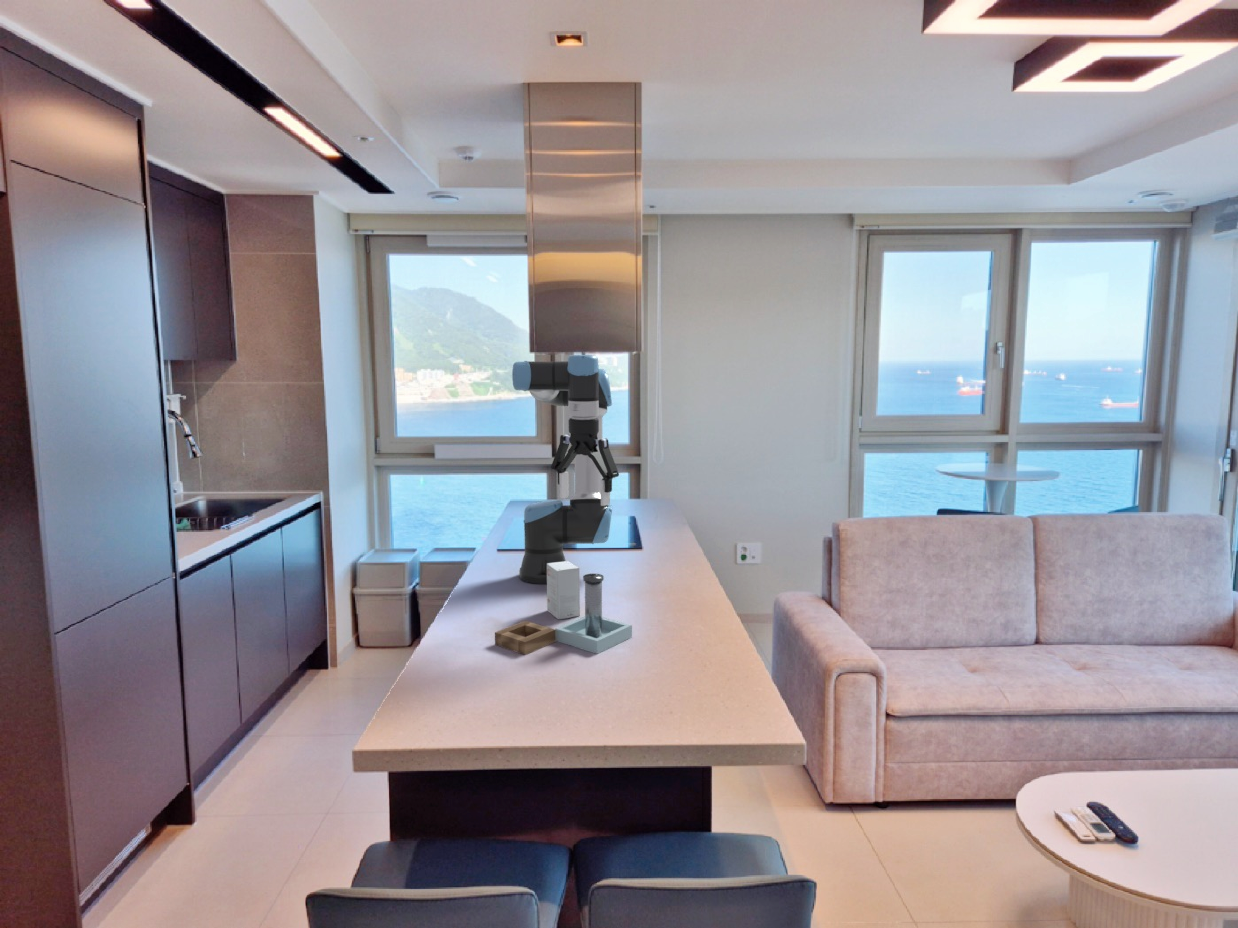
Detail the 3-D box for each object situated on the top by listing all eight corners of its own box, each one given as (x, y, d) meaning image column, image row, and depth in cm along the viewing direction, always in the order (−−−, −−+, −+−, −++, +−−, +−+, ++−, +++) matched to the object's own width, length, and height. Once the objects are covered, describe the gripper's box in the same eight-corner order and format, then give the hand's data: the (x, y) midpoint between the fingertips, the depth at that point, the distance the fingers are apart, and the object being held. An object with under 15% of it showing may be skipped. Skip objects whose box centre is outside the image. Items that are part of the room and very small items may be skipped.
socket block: (495, 644, 177) (494, 632, 176) (525, 632, 184) (525, 620, 184) (525, 654, 171) (525, 642, 170) (555, 641, 178) (555, 629, 178)
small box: (580, 616, 196) (580, 567, 194) (557, 620, 193) (557, 570, 191) (568, 607, 203) (568, 560, 201) (546, 610, 200) (545, 563, 199)
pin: (579, 636, 180) (579, 576, 178) (592, 631, 183) (592, 572, 181) (594, 641, 177) (594, 580, 175) (607, 635, 181) (607, 575, 178)
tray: (555, 640, 179) (555, 628, 179) (590, 625, 189) (590, 613, 189) (597, 653, 171) (597, 641, 171) (631, 637, 181) (631, 625, 181)
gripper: (536, 415, 191) (538, 497, 195) (613, 422, 176) (614, 510, 180) (556, 412, 197) (557, 492, 201) (633, 419, 182) (632, 505, 186)
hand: (584, 501), depth 191 cm, fingers open, 13 cm apart
